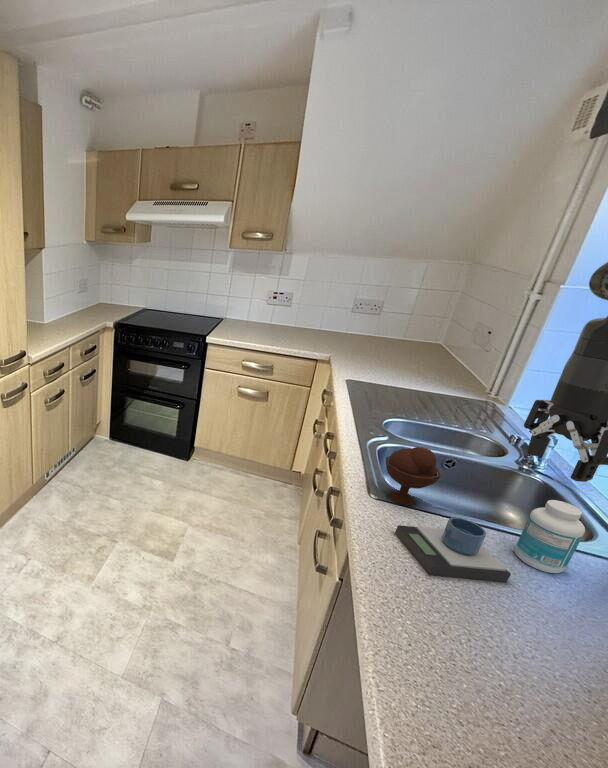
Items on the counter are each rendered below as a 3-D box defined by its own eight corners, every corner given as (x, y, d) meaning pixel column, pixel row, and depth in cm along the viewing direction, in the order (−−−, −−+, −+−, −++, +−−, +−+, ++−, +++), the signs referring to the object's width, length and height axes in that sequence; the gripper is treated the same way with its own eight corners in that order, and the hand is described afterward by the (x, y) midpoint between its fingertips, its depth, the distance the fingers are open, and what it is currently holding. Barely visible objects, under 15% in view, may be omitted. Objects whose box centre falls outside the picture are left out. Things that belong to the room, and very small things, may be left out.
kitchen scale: (462, 539, 91) (466, 529, 90) (507, 582, 79) (512, 571, 78) (394, 533, 92) (398, 523, 91) (429, 575, 81) (433, 564, 80)
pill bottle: (534, 547, 89) (561, 494, 84) (574, 574, 82) (605, 518, 77) (502, 548, 88) (527, 495, 83) (540, 576, 81) (569, 520, 76)
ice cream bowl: (424, 493, 106) (442, 442, 101) (430, 518, 97) (451, 463, 92) (375, 481, 111) (391, 431, 106) (377, 503, 102) (394, 450, 97)
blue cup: (463, 538, 87) (472, 518, 85) (484, 558, 82) (494, 538, 80) (434, 535, 88) (441, 516, 86) (453, 555, 82) (461, 535, 80)
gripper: (669, 399, 61) (621, 491, 67) (576, 369, 74) (542, 448, 80) (613, 397, 62) (570, 488, 68) (530, 368, 75) (500, 446, 81)
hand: (555, 467), depth 74 cm, fingers open, 8 cm apart
